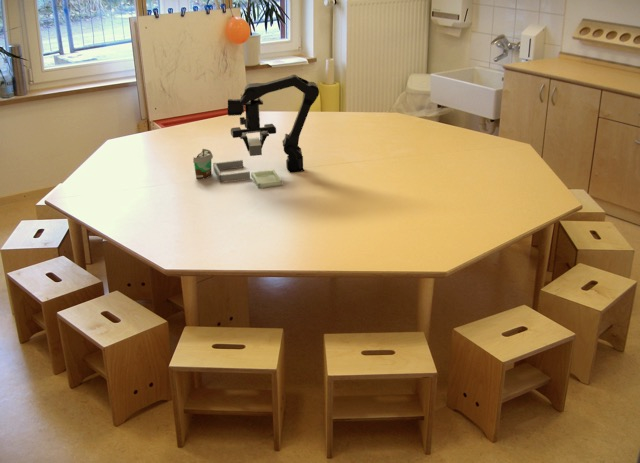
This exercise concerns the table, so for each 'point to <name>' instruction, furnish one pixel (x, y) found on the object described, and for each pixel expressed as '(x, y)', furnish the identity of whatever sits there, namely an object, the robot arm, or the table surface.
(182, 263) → the table surface
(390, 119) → the table surface
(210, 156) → the food container
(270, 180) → the tray
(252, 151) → the beige gray rectangular block
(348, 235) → the table surface
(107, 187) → the table surface
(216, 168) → the bay
